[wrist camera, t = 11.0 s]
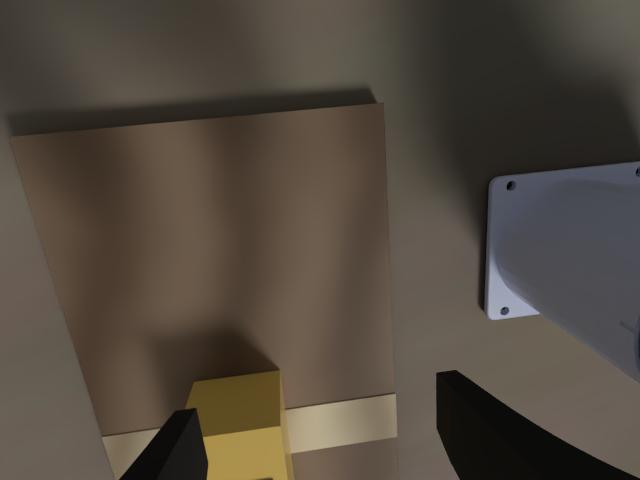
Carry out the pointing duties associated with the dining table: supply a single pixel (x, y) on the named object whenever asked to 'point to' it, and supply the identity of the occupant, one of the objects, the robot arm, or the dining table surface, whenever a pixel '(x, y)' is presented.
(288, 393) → the board
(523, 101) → the dining table surface
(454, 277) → the dining table surface
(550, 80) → the dining table surface
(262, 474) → the block
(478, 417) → the robot arm
